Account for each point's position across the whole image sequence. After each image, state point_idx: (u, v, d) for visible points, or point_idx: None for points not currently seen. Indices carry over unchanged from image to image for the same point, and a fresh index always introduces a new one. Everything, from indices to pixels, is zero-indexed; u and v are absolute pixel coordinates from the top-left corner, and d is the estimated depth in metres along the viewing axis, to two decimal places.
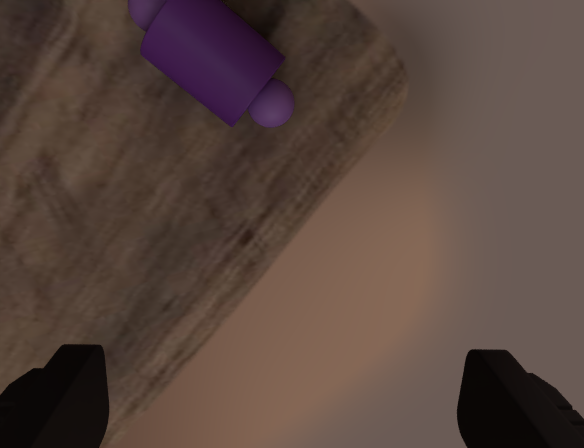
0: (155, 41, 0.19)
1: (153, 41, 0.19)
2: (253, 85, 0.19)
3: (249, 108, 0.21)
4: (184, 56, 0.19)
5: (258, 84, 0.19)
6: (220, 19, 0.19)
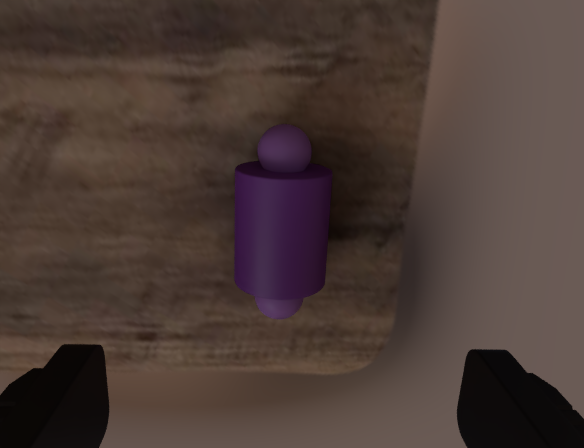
0: (258, 189, 0.18)
1: (257, 187, 0.18)
2: (285, 292, 0.19)
3: None
4: (265, 222, 0.18)
5: (289, 295, 0.19)
6: (317, 226, 0.18)
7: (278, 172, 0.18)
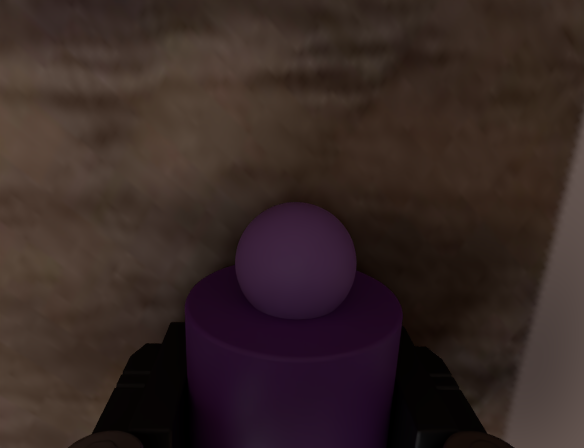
0: (234, 375, 0.07)
1: (231, 370, 0.07)
2: None
3: None
4: None
5: None
6: (373, 441, 0.08)
7: (282, 320, 0.08)
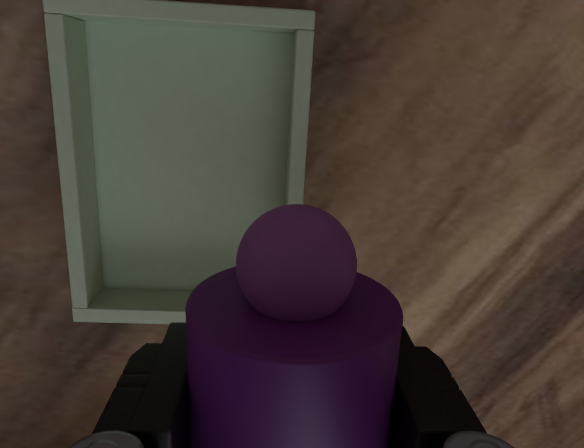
0: (234, 378, 0.07)
1: (231, 373, 0.07)
2: None
3: None
4: None
5: None
6: (374, 442, 0.08)
7: (283, 322, 0.08)
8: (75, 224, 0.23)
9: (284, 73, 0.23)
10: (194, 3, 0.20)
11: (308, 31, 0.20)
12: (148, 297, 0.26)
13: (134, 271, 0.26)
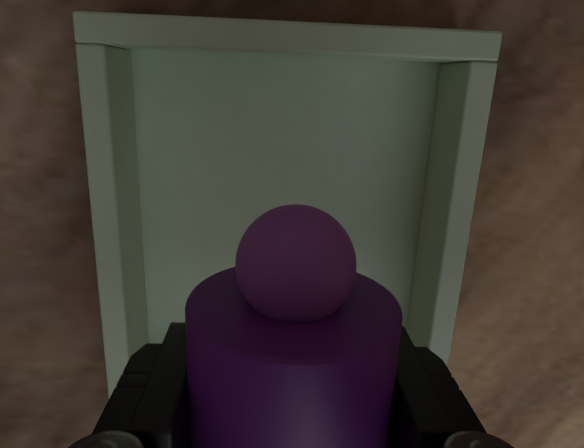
0: (234, 378, 0.07)
1: (231, 373, 0.07)
2: None
3: None
4: None
5: None
6: (373, 443, 0.08)
7: (282, 322, 0.08)
8: (120, 351, 0.15)
9: (422, 120, 0.16)
10: (314, 23, 0.13)
11: (489, 64, 0.13)
12: None
13: None
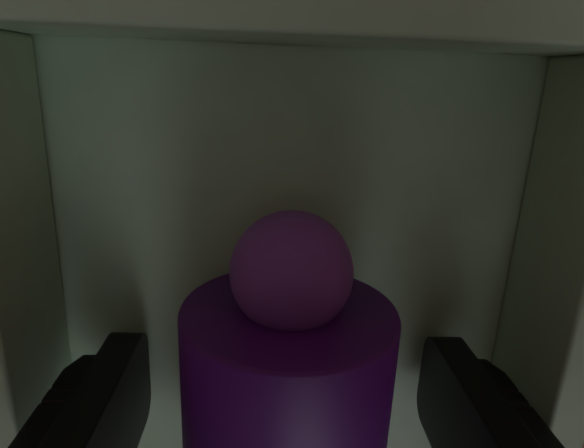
0: (223, 388, 0.07)
1: (220, 383, 0.07)
2: None
3: None
4: None
5: None
6: None
7: (275, 332, 0.08)
8: None
9: (513, 149, 0.10)
10: None
11: None
12: None
13: None
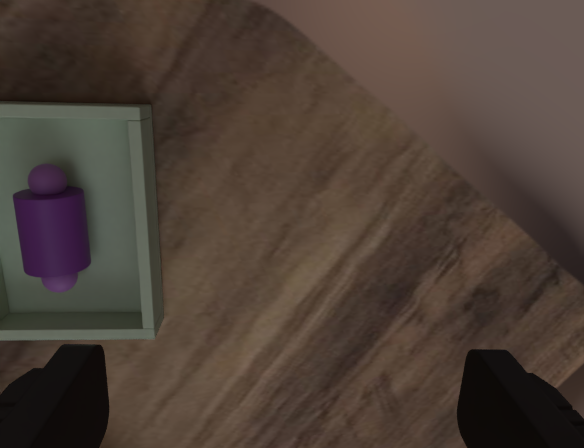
0: (17, 205, 0.28)
1: (17, 204, 0.28)
2: (42, 272, 0.29)
3: None
4: (23, 226, 0.28)
5: (45, 274, 0.29)
6: (61, 230, 0.28)
7: (36, 195, 0.28)
8: None
9: None
10: (49, 105, 0.27)
11: (135, 121, 0.28)
12: (42, 319, 0.33)
13: (32, 299, 0.33)
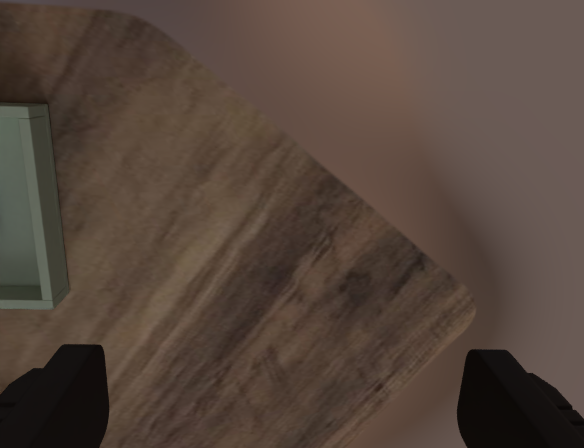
0: None
1: None
2: None
3: None
4: None
5: None
6: None
7: None
8: None
9: None
10: None
11: (25, 119, 0.32)
12: None
13: None
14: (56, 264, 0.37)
